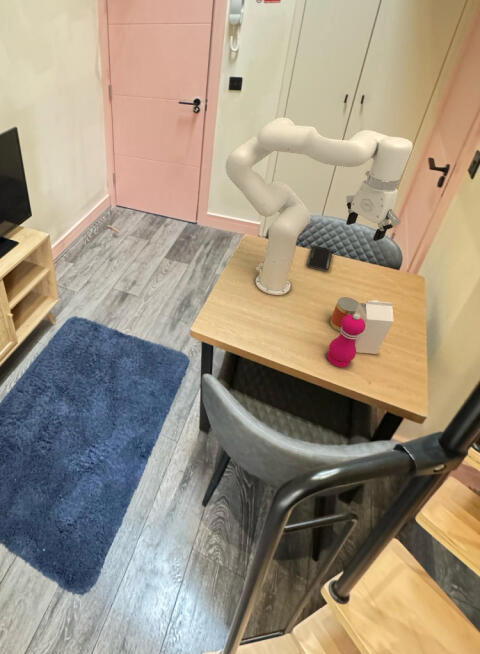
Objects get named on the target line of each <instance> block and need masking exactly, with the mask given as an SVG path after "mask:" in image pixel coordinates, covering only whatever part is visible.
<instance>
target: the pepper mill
mask: <svg viewBox="0 0 480 654" xmlns="http://www.w3.org/2000/svg"><path fill="white" fill-rule="evenodd" d="M341 325H342V326H341V329H340V331H339V332H340V334H339V335H338V336H337V337H336V338H333V340H332V341H331V342H330V343H329V345H328V352H327V356H326V357H327V360H328V361H329V362H330V363H331V364H332V365H334V366H335V367H338V368H347V367H349V366H350V364H351V362H352V361H353V360H354V359H355V358H356V355H357V352H356V347H355V341H356V339H357V338H359V336H360V333H362V332H363V331H364V330H365V326H366V325H365V322H364V320H363V319H362V318H361V317H360V315H359V314H354V315H347V316H345V317H344V318H343V319H342V321H341Z"/></svg>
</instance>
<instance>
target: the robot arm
mask: <svg viewBox="0 0 480 654" xmlns="http://www.w3.org/2000/svg"><path fill="white" fill-rule="evenodd" d="M413 147H414V144H413V142H412V141H411V140H410V139H407V138H405V137H401V136H389V135H386V134H384V133H381V132H378V131H374V130H370V129H364V130H360V131H358V132H356V133H355V134H354V135H352V137H350V138H349V139H348V140H347V139H334V138H330V137H329V138H328V137H325V136H322V135H321V134H320V133H319V132H318V131H317V128H316V127H315V126H310V125H297V124H295V123H294V121H293V120H291V119H290V118H288V117H278V118H277V117H276V118H275V119H273V120H271V121H270V122H269V123H266V124H265V125H263V127H261V128H260V130H259V132H257V134H255V135H254V136H252V137H251V138H249V139H248V140H247V141H245V142H243V143H242V144H240V145H238V146H237V147H236V148H234V149H233V150H232V151H231V152H230V154H229V155H228V156H227V158H226V161H225V172H226V175H227V177H228V178H229V180H230V181H231V183H233V184H234V186H236V187H237V188H238V190H239V191H240V192H241V193H242V195H243V196H244V197H245V199H246V200H247V201H248V203H250V205H251V206H252V207H253V209H254V210H255V211H256V212H257V213H258V214H259V215H260V216H261V217H265V218H268V217H272V216H274V215H276V214H277V213H278V215H276V217H275V218H274V219H273V220H272V222H271V223H270V224H269V227H268V237H267V245H266V249H265V255H264V261H263V262H260V263H258V266H256V267H255V269H256V270H257V271H258V272H259V273H258V275H257V276H256V277H255V281H254V283H255V285H256V287H257V288H258V289H259V290H260V291H261V292H263V293H265V294H268V295H271V296H282V295H286V294H287V293H288V292H290V290H291V282H290V281H289V277H290V273H291V269H292V265H293V262H294V258H295V253H296V249H297V240H298V238H299V236H300V235H301V233H302V232H303V231H304V230H305V228H307V227H308V226H309V224H310V222H311V217H312V216H311V213H310V210H309V208H308V207H307V206H306V205H305V204H304V202H303V201H302V200H301V198H300V197H299V196H298V195H297V193H296V192H295V191H294V190H293V189H292V188H291V186H290V185H288V184H287V183H285V182H282V181H272V182H270V183H268V182H266V180H265V179H264V177H263V176H262V175H260V173H258V172H256V171H254V170H253V169H252V168H253V167H254V166H256V164H259V162H261V161H263V160H264V159H265V158H267V157H268V156H269V155H271V154H272V153H273V152H279V153H280V152H281V153H290V154H296V155H304V156H306V157H309V158H310V159H311V160H314V161H316V162H319V163H321V164H325V165H330V166H335V167H345V168H354V167H355V168H356V167H360V166H363V165H365V164H366V163H368V161H369V160H370V159H372V160H373V161H372V164H371V167H370V169H369V170H367V171H366V172H365V174H364V175H365V176H367V177H366V179H365V180H363V181H362V182H361V184H360V185H359V187H358V189H357V190H356V193H355V194H352V195H347V196H346V197H345V198H346V207H347V213H348V216H347V218H346V223H345V225H346V226H350V225H353V224H354V225H355V224H356V223H357V219H358V216H361V217H362V218H364V219H366V220H368V221H370V222H372V223H374V224H377V226H378V228H377V229H375V232H374V235H373V237H372V241H374V242H377V241H380V240H383V239H385V235H386V233H387V231H388V230H390V229H394V228H396V227H398V225H400V224H401V223H402V221H401V220H400V218H399V217H398V216H397V215H396V214H395V213H394V210H395V207H396V203H397V201H398V192H399V190H398V189H397V188H398V186H399V183H400V181H401V178H402V176H403V173H404V171H405V169H406V165H407V163H408V161H409V159H410V156H411V153H412V151H413ZM389 220H390V221H391V222H390V221H389Z"/></svg>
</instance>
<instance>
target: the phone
mask: <svg viewBox="0 0 480 654" xmlns="http://www.w3.org/2000/svg"><path fill="white" fill-rule="evenodd" d="M333 252H334V251H333V250H332V249H330V248H325V247H323V246H322V247H321V246H317V245H313V246H312V247H311V250H310V252H309V253H310V254H309V257H308V261H307V264H306V266H307V268H310V269H314V270H316V271H317V270H318V271H321V272H329V269H330V266H331V261H332V256H333Z"/></svg>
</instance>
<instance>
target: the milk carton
mask: <svg viewBox="0 0 480 654" xmlns="http://www.w3.org/2000/svg"><path fill="white" fill-rule="evenodd" d="M358 303H359V305H358V307H357V309H356V312H355V314H359V315H360V317H361V318H362V319H363V320H364V322H365V325H366V326H365V330H364V331H363V332H362V333H360V336H359V338H357V339H356V341H355V347H356V353H361V354H371V355H377V354H378V353H379V351H380V349H381V347H382V345H383V344H384V341H385V339H386V338H387V335H388V333H389V331H390V329H391V327H392V325H393V323H394V321H395V319H394V308H393V307H394V302H386V301H385V302H384V301H381V300H377V299H371V300H367V301H366V302H358Z"/></svg>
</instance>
